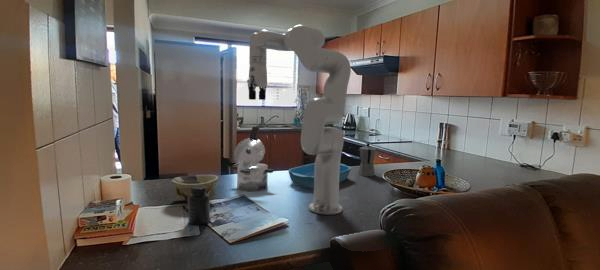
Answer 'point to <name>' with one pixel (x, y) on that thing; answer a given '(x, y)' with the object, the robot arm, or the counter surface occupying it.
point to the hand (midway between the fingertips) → (257, 99)
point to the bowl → (194, 184)
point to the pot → (252, 177)
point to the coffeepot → (367, 161)
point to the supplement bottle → (198, 206)
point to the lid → (249, 150)
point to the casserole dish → (312, 174)
